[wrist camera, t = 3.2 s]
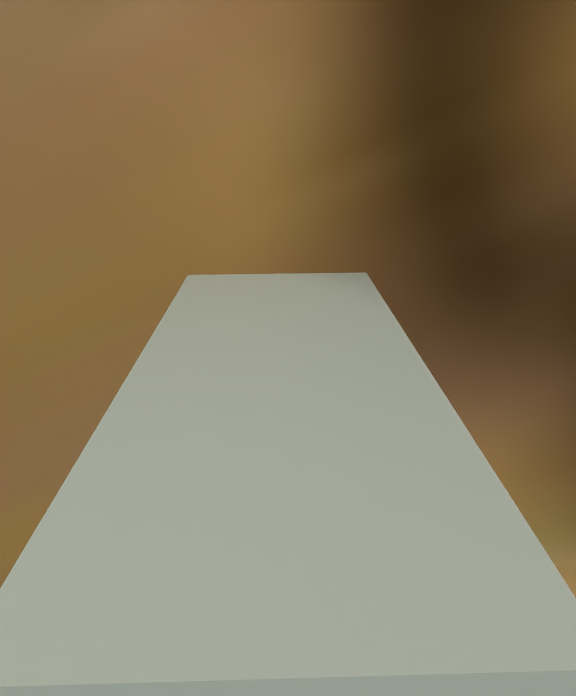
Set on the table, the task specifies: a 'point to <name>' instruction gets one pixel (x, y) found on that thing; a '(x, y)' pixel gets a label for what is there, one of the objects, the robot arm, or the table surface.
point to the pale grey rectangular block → (284, 521)
